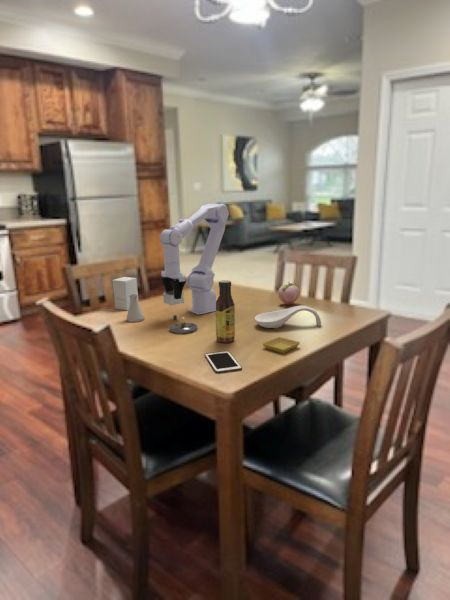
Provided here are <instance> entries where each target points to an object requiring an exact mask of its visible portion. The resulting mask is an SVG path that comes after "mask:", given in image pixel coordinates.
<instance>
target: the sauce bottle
mask: <svg viewBox="0 0 450 600" xmlns="http://www.w3.org/2000/svg"><path fill="white" fill-rule="evenodd" d="M218 287H219V290H218V291H219V293H218V294H219V295H218V297H217V298H216V311H215V336H216V341H217V342H219V343H225V344H226V343H231V342H233V341H235V338H236V337H235V336H236V310H235V309H236V304H235V302H234V299H233V296H232V291H231V290H232V281H231V280H228V279H227V280H226V279H225V280H222V279H221V280H219V281H218Z"/></svg>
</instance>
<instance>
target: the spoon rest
mask: <svg viewBox="0 0 450 600" xmlns="http://www.w3.org/2000/svg"><path fill="white" fill-rule="evenodd" d="M302 311H305V312H310V313H311V314H312V315H314V317H315V323H316V325H317V326H318V327H322V321H321V317H320V315H319V314H318V312H317V310H315V309H314V308H312V307H310V306H307V305H295V306H292V307H288V308H284V309H280V310H275V311H267V312H262V313H259V314H257V315H255V317H254V321H255V322H256V323H257V325H258V326H260V327H262V328H265V329H269V328H275V329H279V327H280V328H281V327H282V326H284V324H286V323H287V322H288V320H289V319H291V318H292V317H293V316H294V315H296V314H297V313H298V312H299V313H300V312H302Z"/></svg>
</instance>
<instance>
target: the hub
mask: <svg viewBox="0 0 450 600" xmlns="http://www.w3.org/2000/svg"><path fill="white" fill-rule="evenodd" d="M168 330H169V332H170V333H171V334H176V335H187V334H192V333H196V332H197V330H198V325H197V324H196V323H191V322H186V317H185V316H181V317H180V322H178V323H173V324H172V325H170V326H169V328H168Z"/></svg>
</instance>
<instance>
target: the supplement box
mask: <svg viewBox="0 0 450 600" xmlns="http://www.w3.org/2000/svg"><path fill="white" fill-rule="evenodd" d="M137 279H138V278H137V277H128V276H123V277H119V278H115V279H112V287H113V299H114V308H115V310H123V311H129V307H130V297H129V295H130V294H138V295H137V301H138V304H140V303H139V291H138V280H137Z"/></svg>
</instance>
